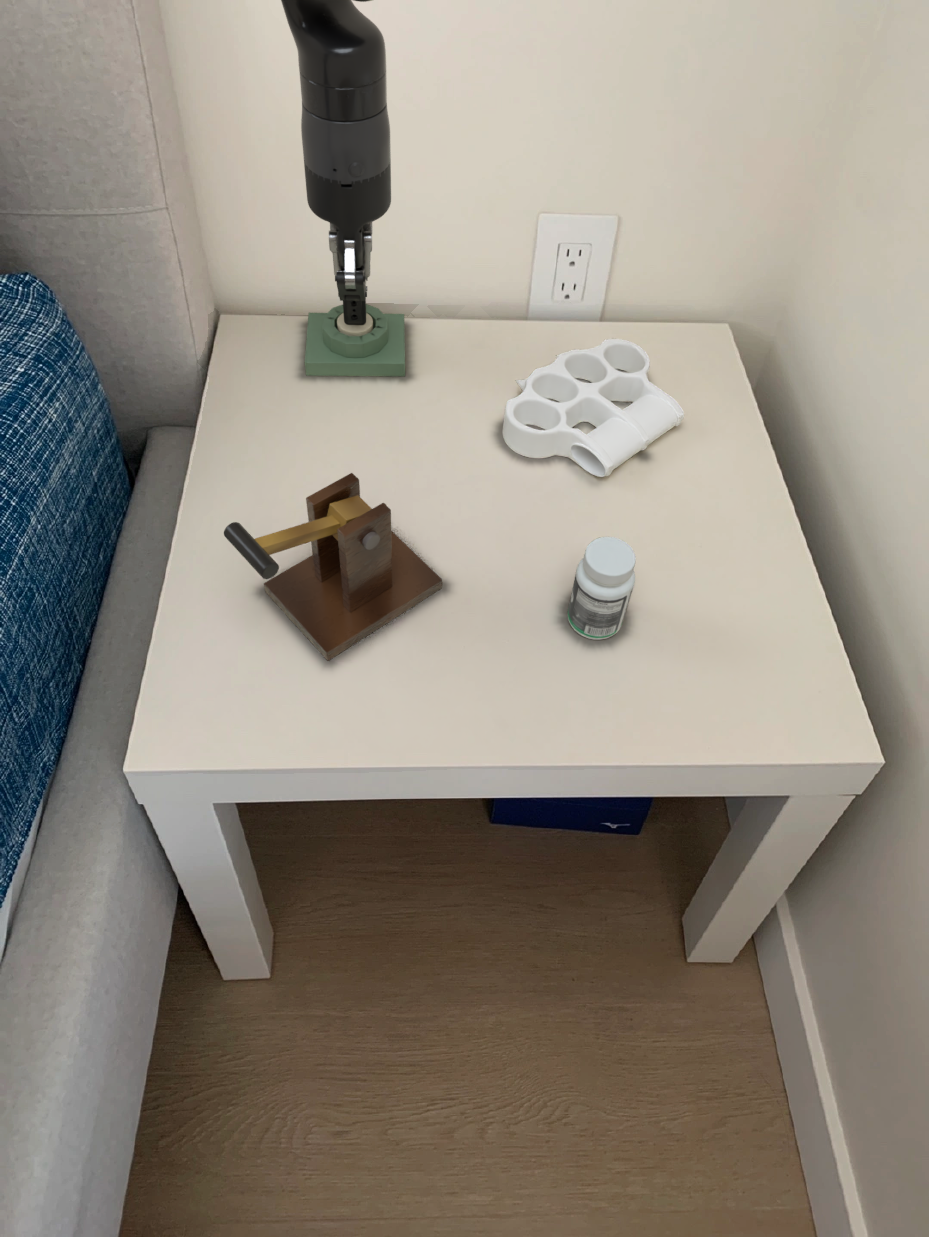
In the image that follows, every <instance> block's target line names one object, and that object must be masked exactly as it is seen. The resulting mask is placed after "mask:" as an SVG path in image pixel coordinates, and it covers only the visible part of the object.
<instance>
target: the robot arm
mask: <svg viewBox="0 0 929 1237" xmlns="http://www.w3.org/2000/svg"><path fill="white" fill-rule="evenodd" d="M353 1H354V2H358V3H359V2H360V3H366V2H372V1H373V0H280V2H281V5H282V8H283V11H284V14H285V18H286V21H287V24H288V27H289V30H290V34H291V35H292V38H293V40H294V44H295V46H296V50H297V57H298V71H299V72H298V73H299V82H300V94H301V119H300V121H301V122H300V129H301V130H300V132H301V144H302V154H303V156H302V157H303V168H304V179H305V190H306V201H307V205H308V207H309V209H310V210H311V212H312V213H313V214H314V215H315V216H316V217H318V219H321V220H323V221H325V222H328V223H329V230H328V244H329V245H328V247H329V251H330V252H331V254H332V263H333V274H334V282H336V288H337V295H338V296H337V297H338V298H339V301H341V302H342V305H343V312H344V322H345V324H347V325H364V324H365V323H366V304H367V298H368V285H367V282H368V281H369V280H368V279H369V278H370V276H371V258H372V257H371V254H372V251H373V222H375V221H377V220H379V219H380V218H382V217H383V216H384V215H385V214H386V213H387V212H388V211H389V209H390V208H391V204H392V172H391V171H392V170H391V168H392V165H391V164H392V162H391V160H392V159H391V158H392V156H391V155H392V154H391V126H390V125H391V124H390V118H389V111H388V94H387V93H388V90H387V88H388V87H387V86H388V84H387V83H388V82H387V53H386V52H387V50H386V42H385V38H384V35H383V33H382V31H381V30H380V28H379V27H378V26H377V24H376V23H374V22H373V21H372V20H371V19H369V18H368V17H367V16H366V15H364V13H362V12H361V10H359V8H357V7H356V5H355V4H354V3H353Z"/></svg>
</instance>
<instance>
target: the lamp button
mask: <svg viewBox="0 0 929 1237" xmlns="http://www.w3.org/2000/svg"><path fill="white" fill-rule="evenodd" d="M337 328H338V331H339V332H340V333H343V334H345V335H348V336H362V335H365V334H368V333H370V332H371V331H372V330H373V319H372V317H371V316H370V315H369V314H368V313H366V323H365V324H364V325H347V324H345V322H344V313H342V314H341V315H340V316H339V317H338V319H337Z"/></svg>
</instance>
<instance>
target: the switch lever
mask: <svg viewBox="0 0 929 1237" xmlns="http://www.w3.org/2000/svg"><path fill="white" fill-rule="evenodd" d="M371 509H373V508H372V507H371V506H370V505H369V504H368V503H367V502H365V500H364V499H362V498H361V496H360V497H359V496H358V495H357V496H353V497H350V498H347V499H343V500H340V501H337V502H333V503H330V504H329V509H328V513H327V517H324V518H320V519H317V520H314V521H311V522H309V521H308V522H304V523H301V524H297V525H295V526H292V527H291V526H290V527H287V528H284V529H281V530H278V531H276V532H275V531H274V532H271V533H269V534H265V535H263V536H259V537H256V538H254V537H253V535H252V534H250V533H249V532H248V531H247V529H246V528H244V527H243V525H242V524H241V523H240V522H237V521H234V522H231V523H229V524H228V525H227V526H226V527H225V528H224V530H223V536H224V537H225V539H226V540H227V541H228V542H229V543H230V544H231V545H232V547H234V548H235V550H236V551H237V552H238V553H239V554H240V555H241V556H242V557H243V558H244V560H246V562H247V563H248V564H249V565H250V566H251V567H252V568H253V569H254V570H255V571H256V573H257V574H258V575H259V576H260V577H261V578H262V579H264V580H270V579H272V578H274V577H276V576H277V573H278V572H279V569H280V565H279V563H278V562H276V561H275V560H274V558H273V557H272V556H271V555H275V554H277V553H280V552H283V551H287V550H290V549H292V548H296V547H298V546H302V545H305V544H308V543H311V541H314V540H318V539H321V538H324V537H327V536H330V535H332V536H333V537H334V538H335V539H336V540H337V541H338V533H337V529H338V528H340V527H342V526H343V525H345V524H347V523H349V522H350V521H352V520H354V519H356V518H357V517H359V516H361V515H363V514H364V513H366V512H368V511H369V510H371Z"/></svg>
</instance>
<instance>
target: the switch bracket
mask: <svg viewBox="0 0 929 1237" xmlns="http://www.w3.org/2000/svg"><path fill="white" fill-rule="evenodd" d="M357 495H358V496H359V497H360V498H361V487H360V479H359V478H358V477H357V476H356V475H355V474H354V473H353V472H350V473H348V474H347V475H345V476H343V477H341V478H339V479H337V480H336V481H333V482H332V483H330V484H328V485H327V486H325V487H323V488H321V489H320V490H318V491H316V492H314V493H312V494H310V495H308V496H307V497H306V498H305V502H306V512H307V519H308V522H311V521H314V520H317V519H320V518H324V517H327V513H328V509H329V504H330V503H333V502H337V501H340V500H343V499H347V498H350V497H353V496H357ZM337 533H338V541H337V540H336V539H335V538H334V537H333V536H332V535H330V536H327V537H324V538H321V539H318V540H314V541H311V542H310V544H311V552H312V553H311V554H312V555H310V556H308V557H307V558H305V559H303V560H301V561H300V562H298V563H296V564H295V565H292V566H291V567H289V568H288V569H286V570H284V571H283V572H281V573H279V574H278V575H277V574H276V575H275V576H273V577H272V578H270V579H268V580H267V581H265V582H264V583H263V588H264V592H265V594H266V595H267V596H268V597H269V598H270V599H271V600H272V601H273V602H274V603H275V605H276V606H277V607H278V608H279V609H280V611H282V612H283V613H284V615H285V616H286V617H288V620H290V621H291V623H293V625H295V627H297V629H298V630H299V631H300V632H301V633H302V634H303V636H305V638H306V639H307V640H308V641H309V642H310V643H311V644H312V646H314V648H315V649H316V650H317V651H318V652H319V653H320V655H322V656H323V657H324V659H325V660H326V661H330V660H332V659H333V658H335V657H337V656H338V655H340V654H342V653H343V652H344V651H346V650H348V649H349V648H351V647H352V646H354V645H356V644H357V643H358V642H360V641H361V640H363V639H365V638H366V637H368V636H369V635H372V633H374V632H375V631H377V630H379V629H381V628H382V627H384V626H385V625H387V624H388V623H390V622H391V621H393V620H395V619H396V618H398V617H399V616H401V615H402V614H404V613H406V612H407V611H409V610H410V609H413V607H415V606H416V605H418V604H419V603H421V602H422V601H423V602H424V600H426V599H427V598H429V597H430V596H432V595H433V594H435V593H437V592H438V591H440V590H441V589H442V588H443V579H442V578H441V577H440V576H439V575H438V574H437V573H436V572H435V571H434V570H433V569H432V568H431V567H430V566H429V565H428V564H427V563H426V562H425V561H424V560H423V559H421V558H420V557H419V556H418V555H417V554H416V553H415V552H414V551H413V549H411V548H410V547H409V546H408V545H407V544H406V543H405V542H404V541H403V540H402V539H401V538H400V537H398V535H396V534H395V533H394V532H393V531H392V509H391V508H390V507H389V506H387V504H386V503H384V502H382V503H380V504H378V505H376V506H375V507H373V508H372V509H371V510H369V511H368V512H366V513H364V514H363V515H361V516H359V517H357V518H356V519H354V520H352V521H350V522H349V523H347V524H345V525H343V526H342V527H340V528H338V529H337Z"/></svg>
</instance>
